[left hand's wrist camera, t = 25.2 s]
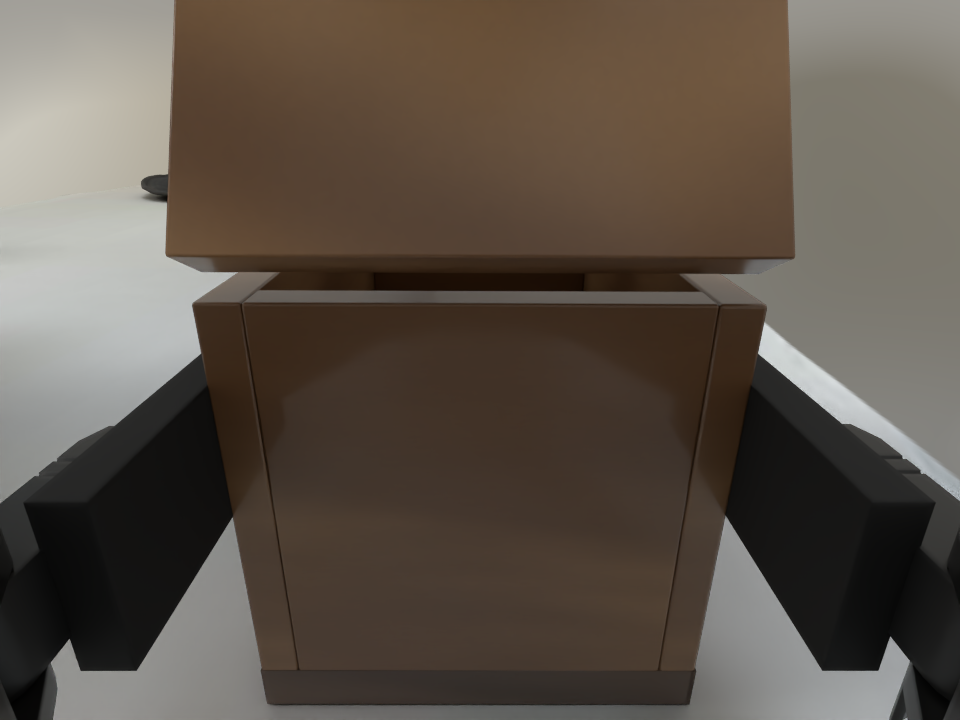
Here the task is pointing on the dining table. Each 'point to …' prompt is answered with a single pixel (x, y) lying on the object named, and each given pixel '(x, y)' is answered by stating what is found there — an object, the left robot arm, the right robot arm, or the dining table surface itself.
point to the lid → (481, 136)
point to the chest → (478, 478)
